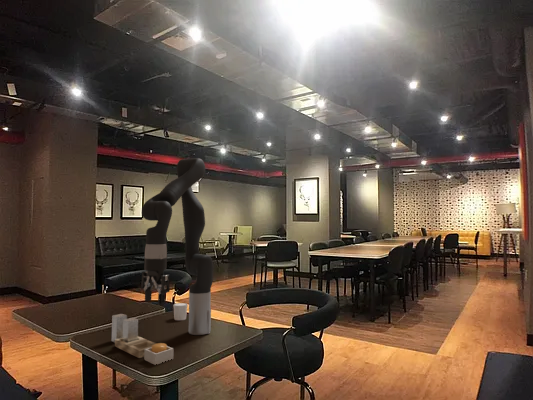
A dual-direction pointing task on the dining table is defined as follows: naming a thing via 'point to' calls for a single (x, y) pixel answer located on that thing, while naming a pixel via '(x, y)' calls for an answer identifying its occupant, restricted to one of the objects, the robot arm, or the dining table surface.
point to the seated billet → (130, 330)
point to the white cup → (180, 311)
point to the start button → (159, 347)
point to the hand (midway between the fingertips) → (154, 303)
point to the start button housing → (158, 355)
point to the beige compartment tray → (134, 346)
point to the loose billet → (117, 326)
